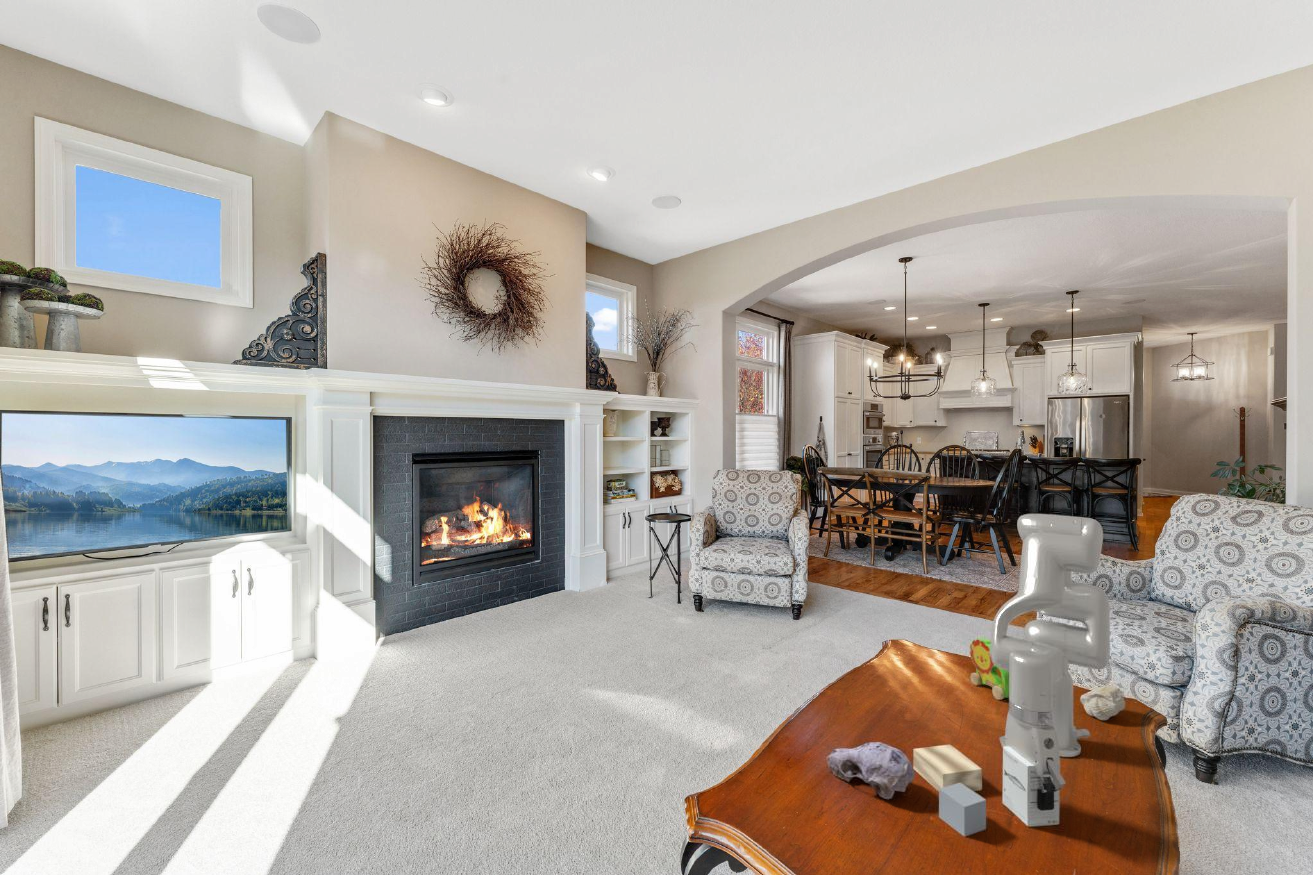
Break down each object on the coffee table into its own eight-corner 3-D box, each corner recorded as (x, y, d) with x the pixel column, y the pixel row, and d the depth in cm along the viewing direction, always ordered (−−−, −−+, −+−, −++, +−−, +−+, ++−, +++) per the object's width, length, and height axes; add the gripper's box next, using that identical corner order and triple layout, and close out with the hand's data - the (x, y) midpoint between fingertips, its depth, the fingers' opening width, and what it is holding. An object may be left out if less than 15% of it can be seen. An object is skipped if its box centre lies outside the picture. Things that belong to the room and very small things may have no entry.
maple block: (949, 764, 133) (949, 744, 133) (981, 791, 123) (981, 768, 123) (913, 769, 131) (913, 748, 131) (942, 796, 121) (943, 774, 121)
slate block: (960, 810, 116) (960, 782, 116) (986, 829, 111) (986, 799, 111) (939, 817, 114) (939, 788, 114) (964, 837, 109) (964, 806, 109)
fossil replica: (1081, 719, 154) (1127, 732, 149) (1085, 692, 153) (1131, 704, 148) (1076, 699, 164) (1119, 710, 159) (1079, 673, 164) (1123, 683, 158)
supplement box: (1001, 803, 118) (1001, 745, 118) (1033, 801, 119) (1033, 743, 119) (1027, 827, 111) (1027, 765, 111) (1061, 825, 112) (1061, 763, 112)
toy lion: (1016, 701, 164) (1016, 651, 164) (1000, 702, 164) (1000, 651, 164) (980, 678, 180) (980, 632, 180) (964, 679, 180) (964, 633, 180)
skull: (820, 778, 129) (818, 734, 131) (849, 763, 137) (846, 721, 138) (898, 813, 114) (894, 762, 115) (926, 793, 121) (922, 746, 123)
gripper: (1082, 733, 107) (1082, 824, 107) (1015, 692, 124) (1015, 770, 124) (1047, 735, 106) (1047, 826, 106) (984, 693, 123) (984, 772, 123)
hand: (1030, 795), depth 115 cm, fingers closed on supplement box, 7 cm apart
